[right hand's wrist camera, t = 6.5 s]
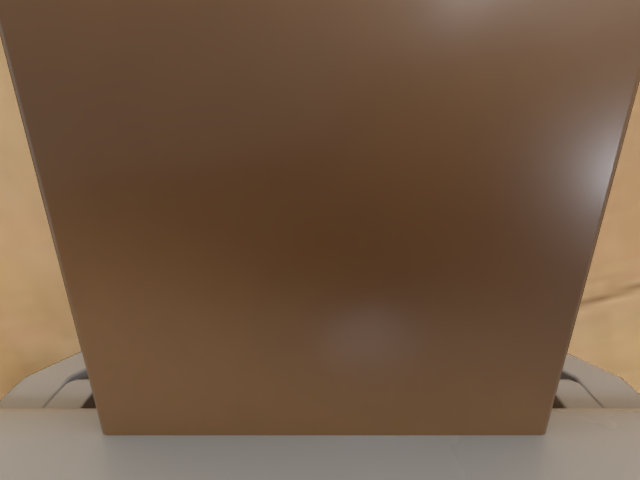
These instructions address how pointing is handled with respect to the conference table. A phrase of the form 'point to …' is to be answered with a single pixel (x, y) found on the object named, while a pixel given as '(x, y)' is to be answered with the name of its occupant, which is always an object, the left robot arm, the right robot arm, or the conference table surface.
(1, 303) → the conference table surface
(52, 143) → the post
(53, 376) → the right robot arm
